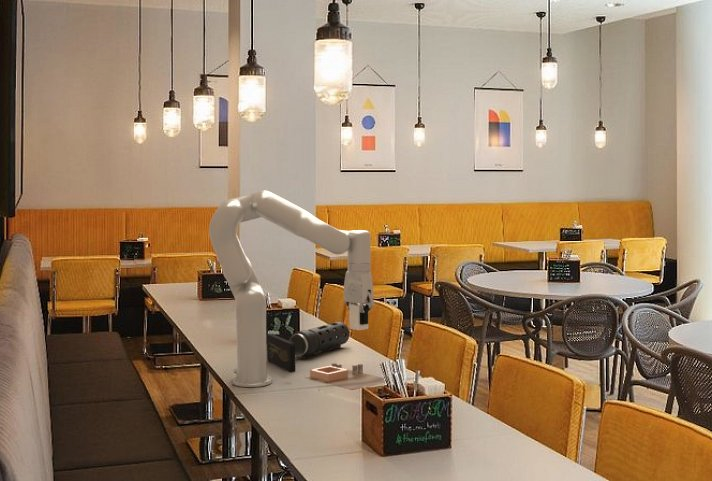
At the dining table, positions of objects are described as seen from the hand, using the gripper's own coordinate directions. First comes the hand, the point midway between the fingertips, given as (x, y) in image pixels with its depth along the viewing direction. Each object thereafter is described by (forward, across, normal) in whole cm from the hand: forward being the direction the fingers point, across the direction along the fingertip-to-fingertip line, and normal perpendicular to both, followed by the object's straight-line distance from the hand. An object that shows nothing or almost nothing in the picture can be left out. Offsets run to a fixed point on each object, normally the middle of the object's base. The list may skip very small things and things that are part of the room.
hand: (358, 322), depth 293 cm
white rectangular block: (+2, 0, 0) cm, 2 cm away
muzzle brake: (+19, -40, +16) cm, 47 cm away
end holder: (+19, -4, -9) cm, 21 cm away
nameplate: (+19, -32, -8) cm, 39 cm away
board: (+19, +2, -6) cm, 20 cm away
